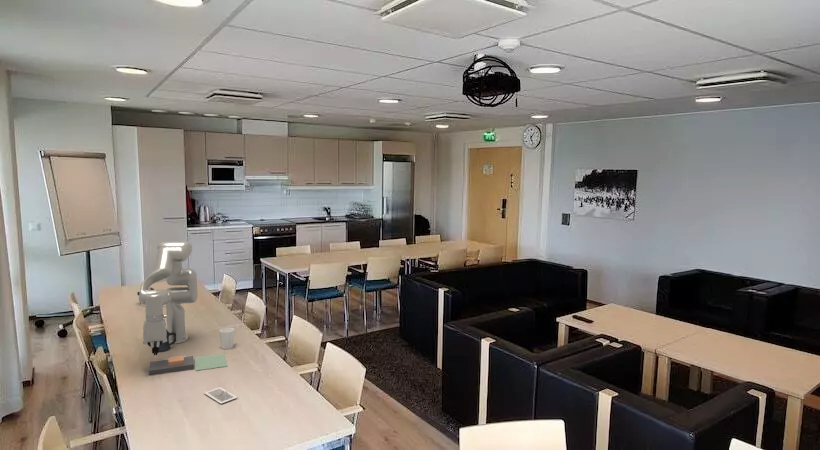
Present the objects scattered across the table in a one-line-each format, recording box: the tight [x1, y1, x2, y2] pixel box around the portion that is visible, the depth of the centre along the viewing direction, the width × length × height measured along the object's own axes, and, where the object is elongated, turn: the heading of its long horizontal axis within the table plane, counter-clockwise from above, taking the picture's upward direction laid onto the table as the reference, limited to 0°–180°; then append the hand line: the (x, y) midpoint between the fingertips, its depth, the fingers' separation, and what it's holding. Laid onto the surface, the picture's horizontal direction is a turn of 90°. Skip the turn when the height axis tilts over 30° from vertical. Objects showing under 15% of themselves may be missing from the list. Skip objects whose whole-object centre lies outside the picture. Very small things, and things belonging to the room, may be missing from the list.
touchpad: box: [204, 386, 238, 404], centre depth 211 cm, size 8×15×2 cm, turn 50°
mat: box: [193, 353, 228, 372], centre depth 248 cm, size 18×15×1 cm
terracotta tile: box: [167, 355, 185, 366], centre depth 241 cm, size 7×7×2 cm
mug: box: [154, 328, 176, 353], centre depth 265 cm, size 12×9×11 cm
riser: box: [148, 355, 195, 376], centre depth 240 cm, size 12×20×2 cm, turn 116°
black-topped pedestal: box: [137, 286, 156, 307], centre depth 349 cm, size 28×26×13 cm
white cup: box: [219, 327, 235, 350], centre depth 270 cm, size 8×8×10 cm
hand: (155, 354), depth 236 cm, fingers closed
